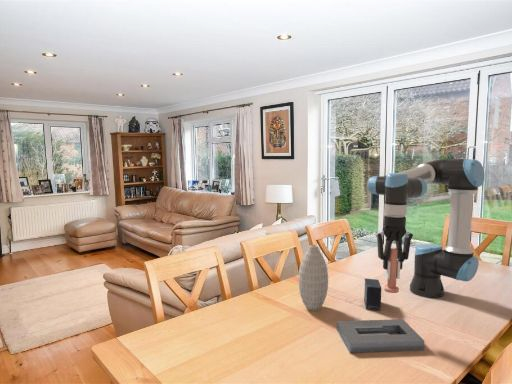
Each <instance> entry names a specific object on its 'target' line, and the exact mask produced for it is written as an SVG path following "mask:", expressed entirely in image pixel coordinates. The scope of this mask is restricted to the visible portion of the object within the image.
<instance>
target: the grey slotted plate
mask: <svg viewBox="0 0 512 384" xmlns="http://www.w3.org/2000/svg"><path fill="white" fill-rule="evenodd" d="M336 331H337V333H338V334H339V337H340V338H341V341H342V342H343V344H344V345H345V347H346V349H347V351H348V353H349V354H362V353H363V354H364V353H365V354H367V353H388V352H391V353H392V352H413V351H414V352H415V351H416V352H417V351H424V350H425V340H424V339H423V338H422V336H421V335H419V334H418V332H416V331H415V329H413V328H412V327H411V326H410V325H409V323H408V322H407V321H405V320H404V319H403V318H397V319H396V318H395V319H368V320H367V319H365V320H340V321H339V320H337V321H336Z"/></svg>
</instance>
